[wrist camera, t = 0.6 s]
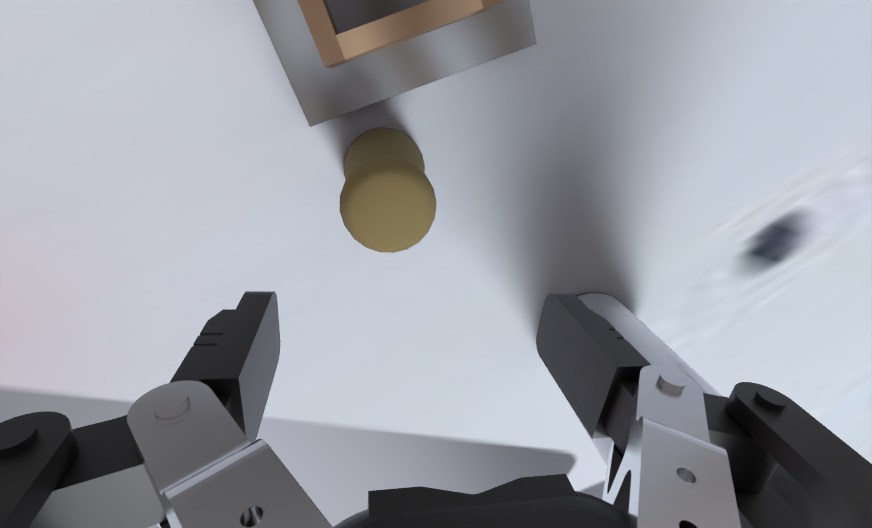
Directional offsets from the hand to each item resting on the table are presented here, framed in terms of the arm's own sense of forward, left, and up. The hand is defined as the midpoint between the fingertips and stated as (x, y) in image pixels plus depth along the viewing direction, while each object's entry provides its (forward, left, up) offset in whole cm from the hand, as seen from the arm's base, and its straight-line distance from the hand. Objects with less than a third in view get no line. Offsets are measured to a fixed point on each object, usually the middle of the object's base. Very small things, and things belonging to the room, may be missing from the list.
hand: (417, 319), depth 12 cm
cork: (+1, 0, -21) cm, 21 cm away
